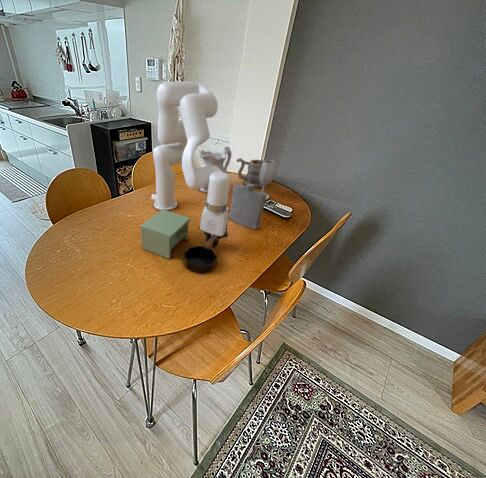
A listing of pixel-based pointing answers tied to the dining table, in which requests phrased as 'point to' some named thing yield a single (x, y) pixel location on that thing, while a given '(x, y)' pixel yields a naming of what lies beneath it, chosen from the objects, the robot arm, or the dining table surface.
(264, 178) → the wineglass
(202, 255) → the pan
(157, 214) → the sage green box
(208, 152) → the ceramic pitcher
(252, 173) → the tankard
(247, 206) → the hip flask
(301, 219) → the dining table surface
